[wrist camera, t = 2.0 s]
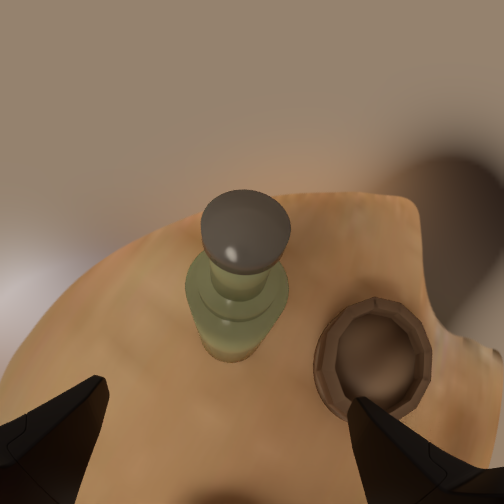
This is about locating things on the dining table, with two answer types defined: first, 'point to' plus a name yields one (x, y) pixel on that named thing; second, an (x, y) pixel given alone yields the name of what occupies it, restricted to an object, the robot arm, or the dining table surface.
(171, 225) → the dining table surface
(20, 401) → the dining table surface
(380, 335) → the tray
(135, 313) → the dining table surface
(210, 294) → the bottle
